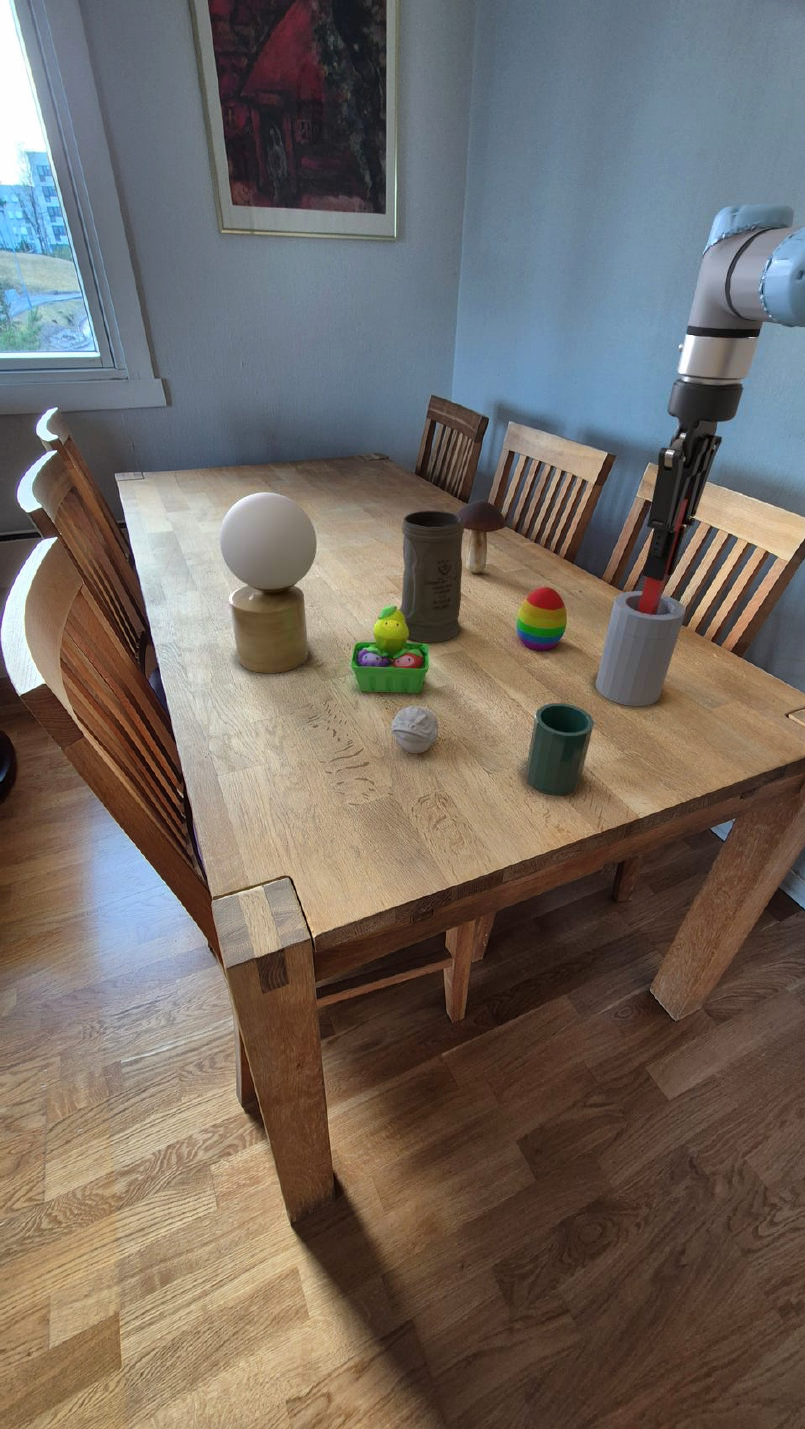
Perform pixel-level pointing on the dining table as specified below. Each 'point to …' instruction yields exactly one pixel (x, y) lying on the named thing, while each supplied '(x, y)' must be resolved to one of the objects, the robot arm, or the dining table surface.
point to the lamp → (268, 579)
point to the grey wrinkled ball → (415, 728)
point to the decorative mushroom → (479, 531)
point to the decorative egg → (542, 619)
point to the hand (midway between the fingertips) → (657, 574)
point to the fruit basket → (390, 657)
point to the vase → (638, 650)
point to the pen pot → (558, 748)
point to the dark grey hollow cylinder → (432, 574)
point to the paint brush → (655, 587)
